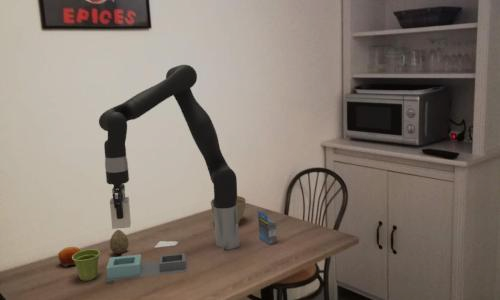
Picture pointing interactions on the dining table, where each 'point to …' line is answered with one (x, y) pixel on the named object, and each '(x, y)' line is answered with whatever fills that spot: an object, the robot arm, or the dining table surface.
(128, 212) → the plug
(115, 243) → the decorative egg
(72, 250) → the fruit
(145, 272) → the panel
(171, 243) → the external hard drive
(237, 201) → the planter bowl
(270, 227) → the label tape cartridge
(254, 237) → the dining table surface
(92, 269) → the plant pot
